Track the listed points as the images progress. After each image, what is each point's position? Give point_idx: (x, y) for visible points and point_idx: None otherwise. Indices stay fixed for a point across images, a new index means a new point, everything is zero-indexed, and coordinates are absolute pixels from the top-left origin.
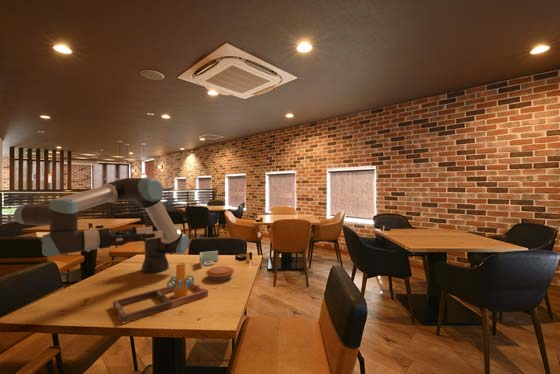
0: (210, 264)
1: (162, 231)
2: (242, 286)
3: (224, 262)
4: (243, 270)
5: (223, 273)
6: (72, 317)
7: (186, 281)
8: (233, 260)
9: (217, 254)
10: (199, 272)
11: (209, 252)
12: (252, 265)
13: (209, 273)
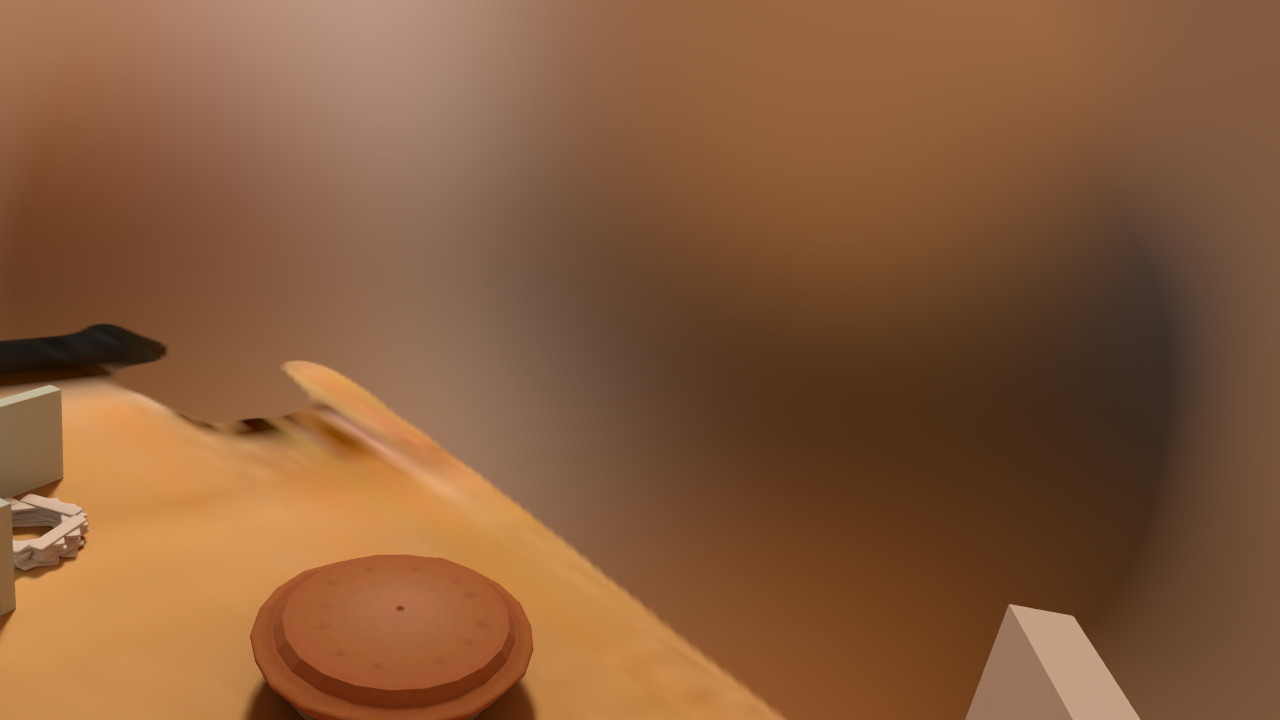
0: (65, 542)
1: (1072, 640)
2: (713, 715)
3: (151, 480)
4: (447, 534)
5: (501, 654)
6: None
7: None
8: (201, 442)
9: (56, 420)
10: (70, 683)
11: None
12: (428, 467)
13: (361, 700)
